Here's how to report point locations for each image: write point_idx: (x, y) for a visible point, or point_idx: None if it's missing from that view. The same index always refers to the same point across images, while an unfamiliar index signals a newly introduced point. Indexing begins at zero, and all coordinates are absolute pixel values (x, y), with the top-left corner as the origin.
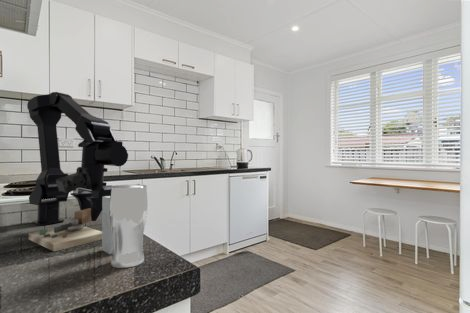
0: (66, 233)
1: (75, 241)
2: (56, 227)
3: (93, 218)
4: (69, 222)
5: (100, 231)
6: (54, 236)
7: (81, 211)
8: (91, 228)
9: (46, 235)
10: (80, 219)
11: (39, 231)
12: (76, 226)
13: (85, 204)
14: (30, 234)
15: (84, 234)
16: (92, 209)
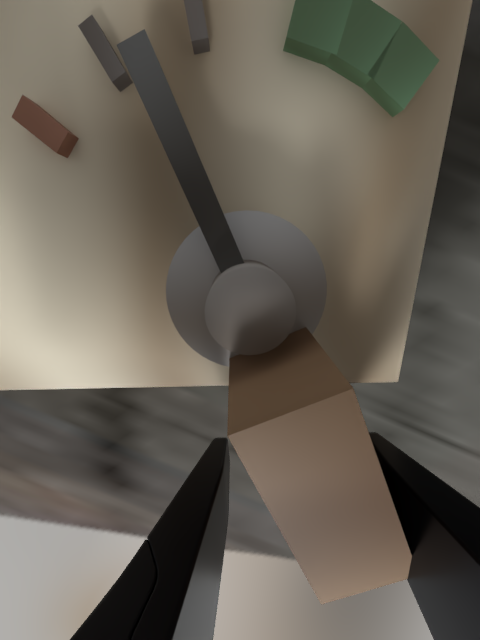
0: (171, 198)
1: None
2: (134, 55)
3: (203, 459)
4: (254, 263)
5: (46, 385)
6: (93, 49)
7: (292, 449)
8: (180, 384)
9: (186, 4)
10: (248, 372)
11: (451, 60)
12: (180, 292)
13: (468, 612)
14: None
15: (34, 278)
16: (149, 548)
